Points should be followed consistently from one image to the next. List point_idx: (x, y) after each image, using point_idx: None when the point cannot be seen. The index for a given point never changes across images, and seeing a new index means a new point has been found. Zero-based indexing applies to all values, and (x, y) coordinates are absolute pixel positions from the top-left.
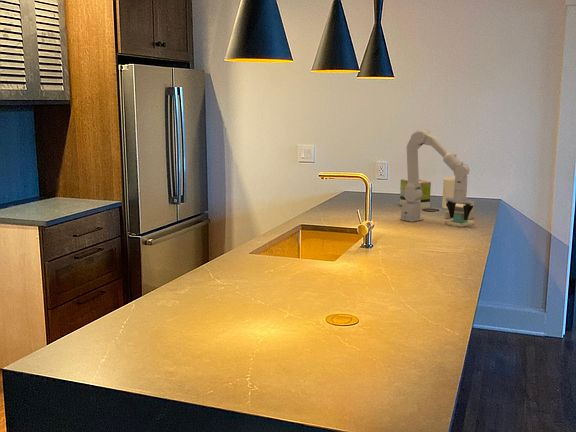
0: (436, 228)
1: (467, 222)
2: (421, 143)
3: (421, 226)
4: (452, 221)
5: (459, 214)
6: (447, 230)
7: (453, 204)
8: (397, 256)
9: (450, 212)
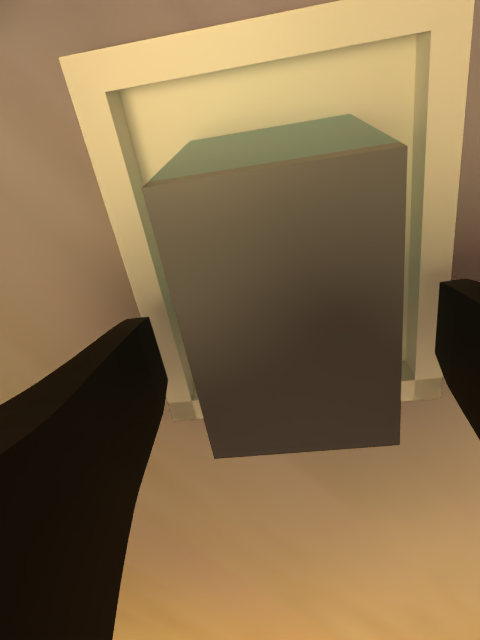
0: (285, 569)
1: (438, 241)
2: None
3: (150, 591)
4: (170, 306)
5: (358, 441)
6: (410, 562)
7: (33, 584)
8: None
9: (139, 469)
